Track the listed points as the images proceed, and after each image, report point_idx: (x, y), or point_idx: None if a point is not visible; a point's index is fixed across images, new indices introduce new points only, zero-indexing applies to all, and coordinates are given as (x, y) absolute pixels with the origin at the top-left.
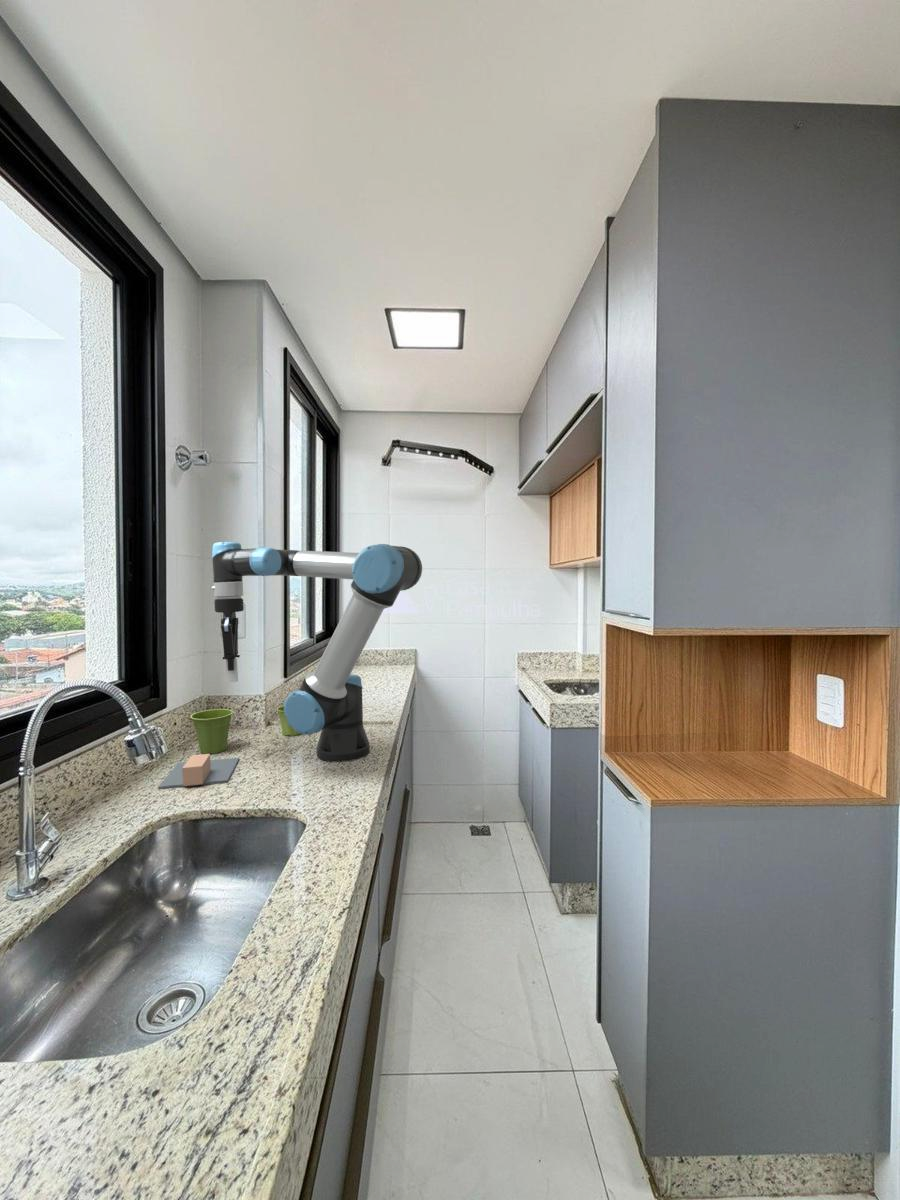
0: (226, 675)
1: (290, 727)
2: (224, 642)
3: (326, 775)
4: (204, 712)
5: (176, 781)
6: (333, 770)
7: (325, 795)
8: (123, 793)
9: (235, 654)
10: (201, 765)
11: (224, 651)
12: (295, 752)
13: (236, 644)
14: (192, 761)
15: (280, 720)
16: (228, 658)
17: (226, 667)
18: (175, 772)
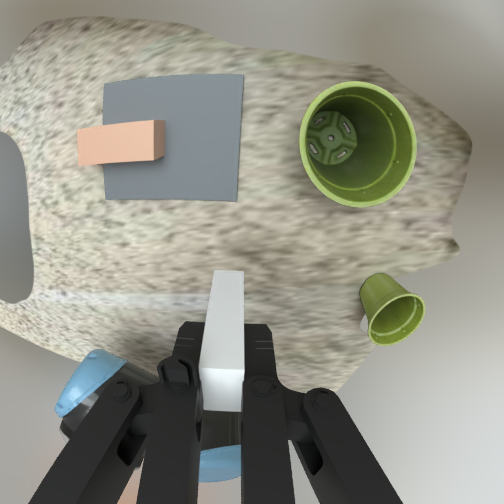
0: (211, 290)
1: (365, 298)
2: (51, 481)
3: (122, 332)
4: (405, 122)
5: (120, 106)
6: (140, 341)
7: (64, 322)
8: (108, 35)
9: (242, 428)
10: (82, 163)
11: (87, 419)
12: (247, 299)
13: (313, 486)
14: (109, 136)
15: (389, 286)
16: (156, 388)
17: (205, 324)
18: (174, 85)
